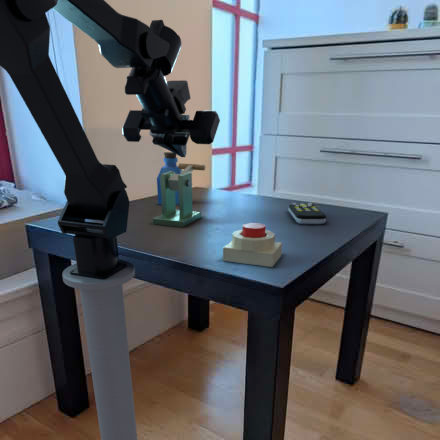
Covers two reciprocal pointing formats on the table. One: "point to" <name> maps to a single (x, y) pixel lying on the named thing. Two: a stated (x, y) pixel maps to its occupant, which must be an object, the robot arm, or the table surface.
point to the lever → (187, 168)
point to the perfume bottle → (169, 166)
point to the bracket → (169, 206)
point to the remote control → (306, 214)
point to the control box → (253, 249)
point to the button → (253, 230)
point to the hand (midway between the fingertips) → (184, 155)
